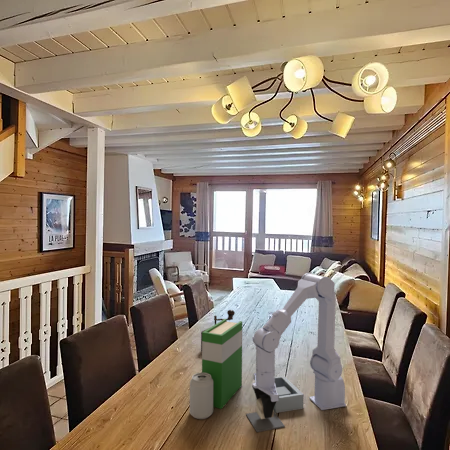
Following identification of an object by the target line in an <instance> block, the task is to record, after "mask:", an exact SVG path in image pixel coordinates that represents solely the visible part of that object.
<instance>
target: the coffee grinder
mask: <svg viewBox="0 0 450 450" xmlns="http://www.w3.org/2000/svg"><path fill="white" fill-rule="evenodd" d="M235 313H236V312H235V311H234V310H233V309H229V310H227V312H226V314H227V318H226V319H227V321H232V320H233V319H234V316H235ZM213 317H214V318H213V321H214V325H215V324H217V322H218V321H219V322H220V321H222V320H224V319H225V318H217V315H216V314H215V315H214V316H213ZM209 328H210V327H208V328H206V329H204V330H202V331H201V332H200V351H201V352H202V332H204V331H205V330H207V329H209Z"/></svg>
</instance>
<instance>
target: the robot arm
mask: <svg viewBox="0 0 450 450" xmlns="http://www.w3.org/2000/svg"><path fill="white" fill-rule="evenodd" d="M336 298H337V296H336V292H335V281H333V280H332V279H331V278H330V277H328V276H323V275H318V274H313V273H310V272H306V273H304V274H303V275H302V276H301V279H299V280H298V281H297V287H296V288H295V290H294V291H293V293H292V294H291V296H290V298H289V299H288V301H286V303H285V304H284V306H283V307H282V308H281V309H276V310H275V311H273V313H272V315H271V317H270V318H269V319H268V320H267V322H266V323H265V324H264V325H263V326H262V327H260V328H258V329H257V330H256V331H255V332H254V335H253V337H252V338H251V339H252V342H253V344H254V345H255V355H256V357H255V373H253V381H254V382H253V383H252V384H251V385H252V386H251V387H252V390H253V392H254V394H255V397H256V399H260V398H261V401H262V404H263V412H264V417H265V418H271V417H272V414H273V410H274V406H275V404H276V402H277V401H278V399H279V395H278V393H277V391H276V385H275V377H276V375H275V374H276V367H275V366H276V365H275V364H276V363H275V362H276V358H275V357H276V349H278V347H279V345H280V340H281V337H282V335H283V334H284V332H285V331H286V330H287V328H288V327H289V326H290V325H291V324H292V316H293V315H294V313H295V312H297V310H298V309H299V308H300V307H301V306H302V305H303V304H304V302H306V300H308V299H316V300H317V302H318V319H317V320H318V321H317V347H315V348H313V349H312V354H311V357H310V360H309V365H310V368H311V369H312V370H313V374H314V395H313V396H309V397H308V398H309V400H311V401H312V402H313V403H314V404H315V405H316V406H317V407H318V408H319V409H320V410H321V411H326V410H330V409H331V410H332V409H339V408H343V407H346V406H347V404H346V403H345V401H346V399H345V397H346V387H345V381H344V379H343V377H342V373H343V366H342V363H341V356H340V355H339V353H338V352H337V351H336V349H335V339H336V337H335V336H336V335H335V334H336V333H335V332H336V303H337V301H336V300H337V299H336Z"/></svg>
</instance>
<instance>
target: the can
mask: <svg viewBox="0 0 450 450" xmlns="http://www.w3.org/2000/svg"><path fill="white" fill-rule="evenodd" d="M213 413H214V407H213V379H212V378H211V375H210V374H208V373H202V372H196V373H193V374H192V376H191V379H190V381H189V414H190V415H191V416H192V417H193V418H194V419H197V420H206V419H208V418H209V417H210V416H211V415H212V414H213Z"/></svg>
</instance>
